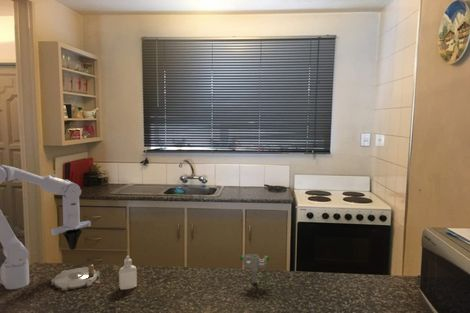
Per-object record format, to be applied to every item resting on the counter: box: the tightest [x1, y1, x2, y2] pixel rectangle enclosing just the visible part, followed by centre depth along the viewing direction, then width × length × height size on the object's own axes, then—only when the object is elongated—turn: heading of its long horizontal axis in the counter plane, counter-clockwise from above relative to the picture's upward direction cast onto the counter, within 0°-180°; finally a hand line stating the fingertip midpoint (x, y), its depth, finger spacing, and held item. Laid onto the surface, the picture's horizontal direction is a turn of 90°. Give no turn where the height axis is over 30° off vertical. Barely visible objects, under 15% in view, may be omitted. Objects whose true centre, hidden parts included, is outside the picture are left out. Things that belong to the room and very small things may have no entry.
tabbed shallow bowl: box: [51, 264, 101, 291], centre depth 123 cm, size 14×16×6 cm
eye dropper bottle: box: [118, 255, 138, 290], centre depth 119 cm, size 4×6×12 cm
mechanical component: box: [240, 253, 270, 284], centre depth 126 cm, size 3×10×10 cm, turn 89°
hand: (72, 248), depth 131 cm, fingers closed
